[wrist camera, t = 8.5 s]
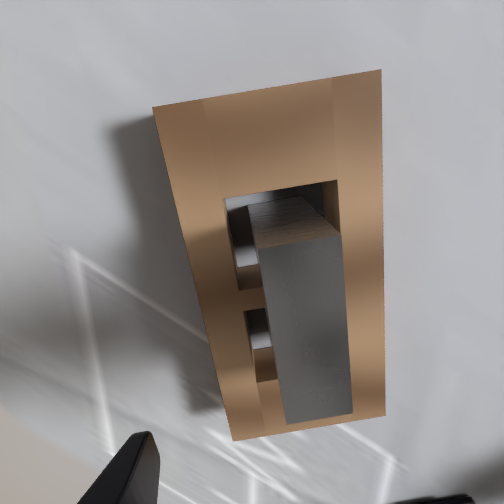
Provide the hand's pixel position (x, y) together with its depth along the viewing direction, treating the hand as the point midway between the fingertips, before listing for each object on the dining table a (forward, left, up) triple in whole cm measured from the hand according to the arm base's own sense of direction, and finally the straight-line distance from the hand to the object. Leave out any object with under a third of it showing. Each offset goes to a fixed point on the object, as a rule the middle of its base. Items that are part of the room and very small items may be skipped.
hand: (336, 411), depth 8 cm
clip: (0, 0, -9) cm, 9 cm away
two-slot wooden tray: (0, 0, -9) cm, 9 cm away
